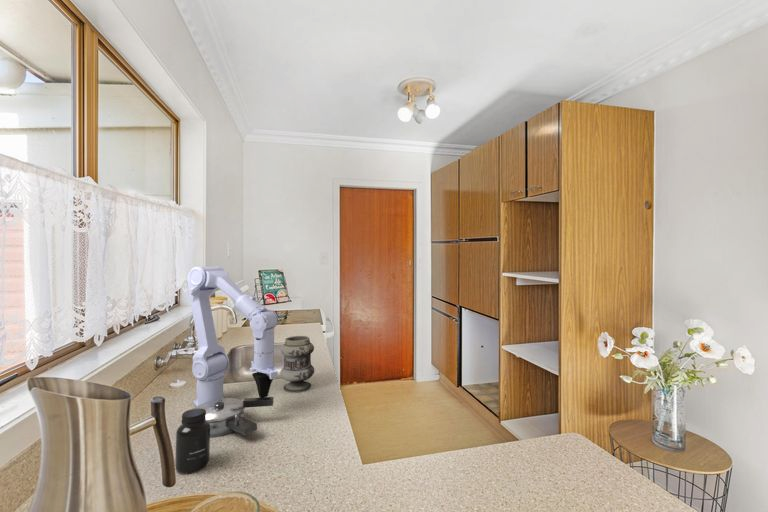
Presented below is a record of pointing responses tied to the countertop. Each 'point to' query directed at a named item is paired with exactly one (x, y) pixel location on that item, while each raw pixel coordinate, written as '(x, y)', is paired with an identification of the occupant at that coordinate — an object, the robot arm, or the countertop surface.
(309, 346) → the apothecary jar
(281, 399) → the countertop surface
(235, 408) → the lid
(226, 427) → the pot
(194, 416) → the supplement bottle
